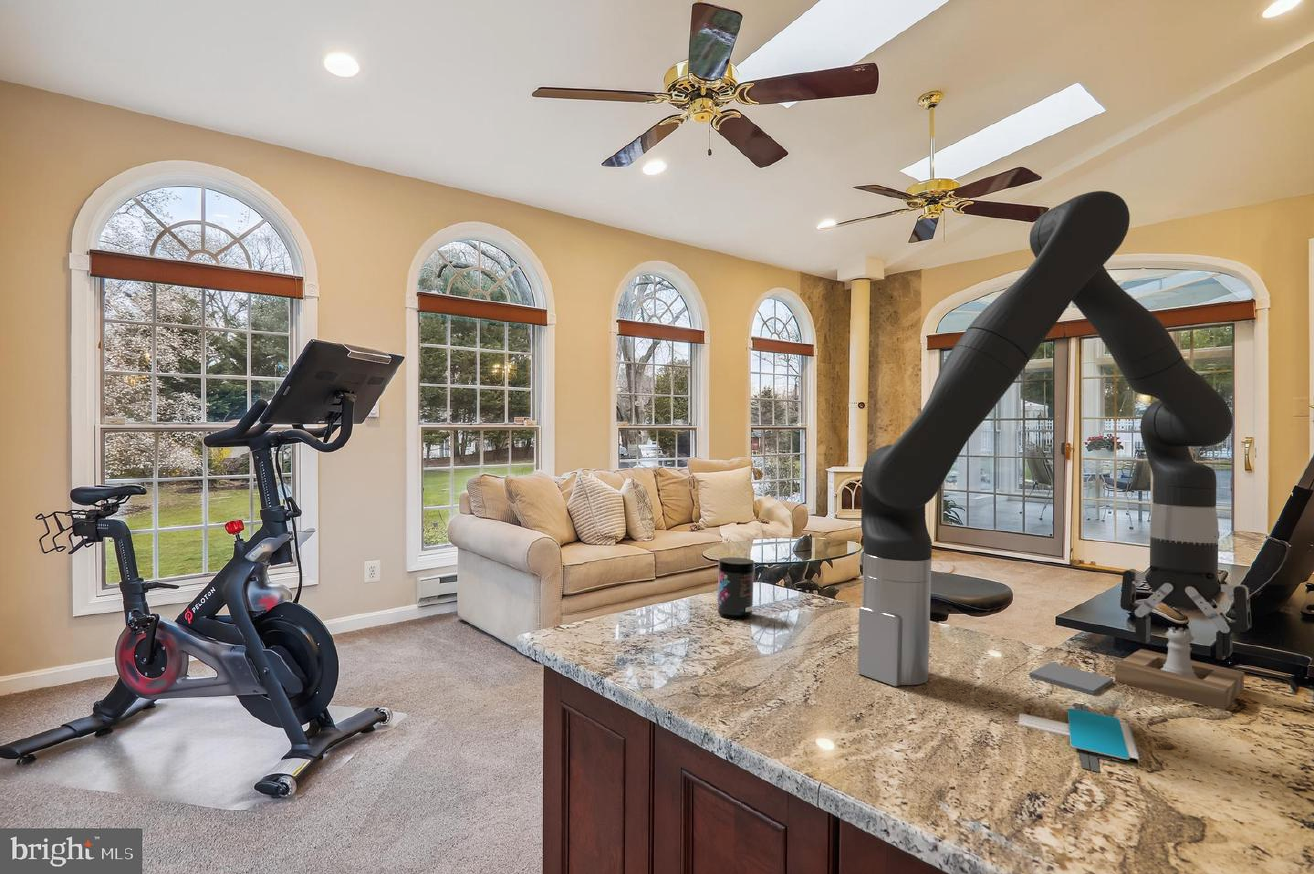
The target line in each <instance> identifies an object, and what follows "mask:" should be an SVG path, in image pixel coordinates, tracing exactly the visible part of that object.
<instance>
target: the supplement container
mask: <svg viewBox="0 0 1314 874" xmlns="http://www.w3.org/2000/svg"><path fill="white" fill-rule="evenodd" d="M717 568H718V577H717V578H718V584H717V585H718V586H717V613H718V615H719V616H721V617H723V618H724V619H729V620H747V619H749V618H751V617H752V615H753V610H754V609H753V606H754V603H753V602H754V577H755V576H754V573H755V561H754V560H752V559H749V558H743V557H731V556H730V557H721V558H719V559H718V567H717Z"/></svg>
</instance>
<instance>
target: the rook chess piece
mask: <svg viewBox="0 0 1314 874" xmlns="http://www.w3.org/2000/svg"><path fill="white" fill-rule="evenodd" d="M1167 629H1168V630H1167V631H1166V632H1165V633H1164V635H1165V636H1166V638H1167V639H1168V643H1167V644H1166V646H1167V649H1168V650H1167V654H1166V655H1167V660H1166V663H1165V664H1164V665H1163V666H1164V667H1163V668H1161V670H1165V671H1169V672H1173V673H1177V674H1181V675H1185V676H1190V677H1194V678H1198V677H1197V676H1196V675H1195V674H1194V670H1193V669H1192V666H1191V660H1192V659H1191V651H1192V649H1193V648H1192V647H1191V642H1193V641H1194V639H1195V637H1194V636H1193V635H1192V631H1191V630H1190V629H1187V628H1185V629H1184V628H1183V627H1178V629H1176V627H1175V626H1170V627H1168V628H1167Z"/></svg>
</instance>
